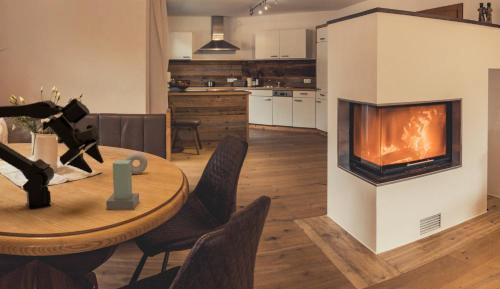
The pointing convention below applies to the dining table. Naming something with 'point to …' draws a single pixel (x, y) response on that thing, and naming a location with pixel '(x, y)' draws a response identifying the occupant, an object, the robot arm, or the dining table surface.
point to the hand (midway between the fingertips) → (97, 167)
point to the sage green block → (122, 179)
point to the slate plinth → (122, 202)
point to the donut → (142, 162)
